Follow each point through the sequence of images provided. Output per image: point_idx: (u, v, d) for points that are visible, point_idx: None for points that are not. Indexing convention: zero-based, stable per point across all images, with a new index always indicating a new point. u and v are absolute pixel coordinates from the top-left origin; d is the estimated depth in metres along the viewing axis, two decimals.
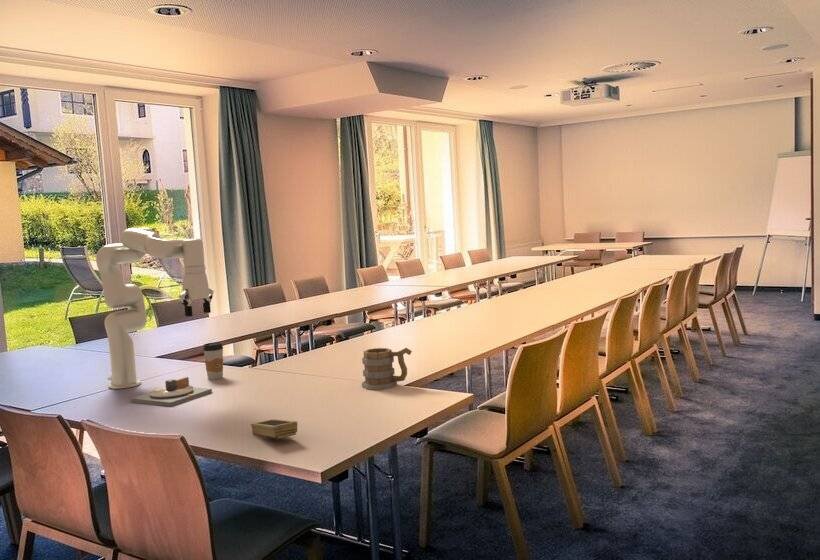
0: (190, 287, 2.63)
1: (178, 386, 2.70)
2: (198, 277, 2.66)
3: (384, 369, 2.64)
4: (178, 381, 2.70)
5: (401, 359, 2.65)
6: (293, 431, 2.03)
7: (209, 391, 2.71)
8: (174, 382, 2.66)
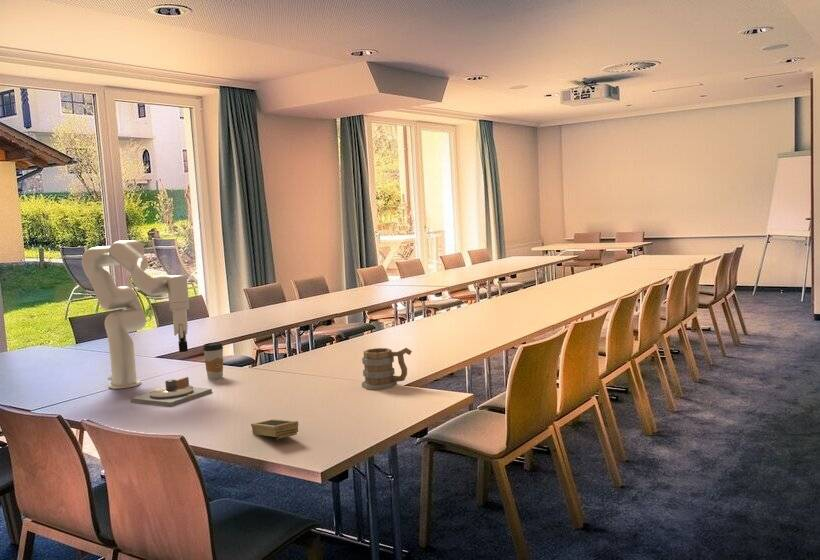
0: (185, 322, 2.72)
1: (178, 386, 2.70)
2: (186, 312, 2.76)
3: (384, 369, 2.64)
4: (178, 381, 2.70)
5: (401, 359, 2.65)
6: (294, 431, 2.03)
7: (209, 391, 2.71)
8: (174, 382, 2.66)
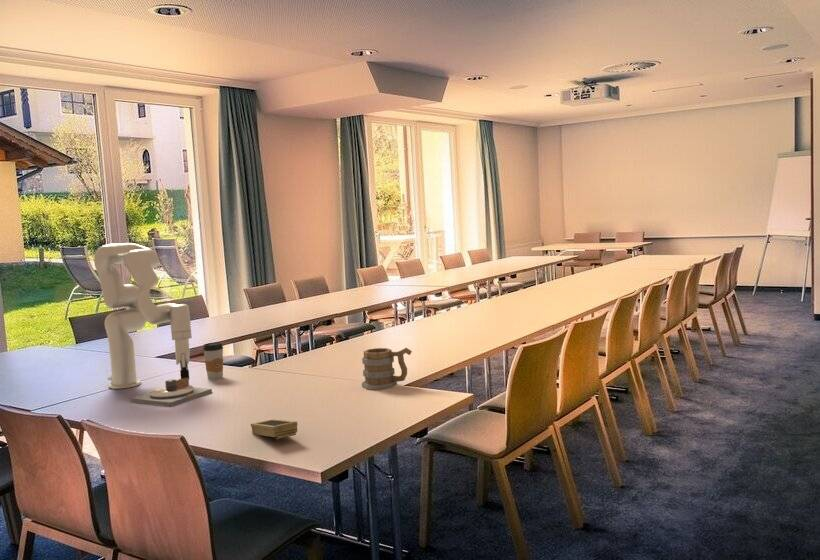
0: (187, 351, 2.73)
1: (178, 386, 2.70)
2: (188, 340, 2.77)
3: (384, 369, 2.64)
4: (178, 381, 2.70)
5: (401, 359, 2.65)
6: (293, 431, 2.03)
7: (209, 391, 2.71)
8: (174, 382, 2.66)
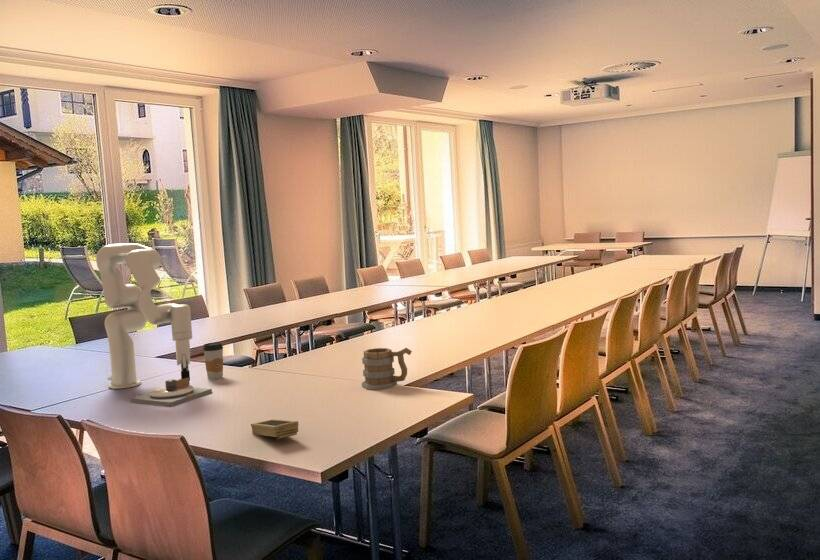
0: (188, 352, 2.71)
1: (178, 386, 2.70)
2: None
3: (384, 369, 2.64)
4: (178, 381, 2.70)
5: (401, 359, 2.65)
6: (294, 431, 2.03)
7: (209, 391, 2.71)
8: (174, 382, 2.66)
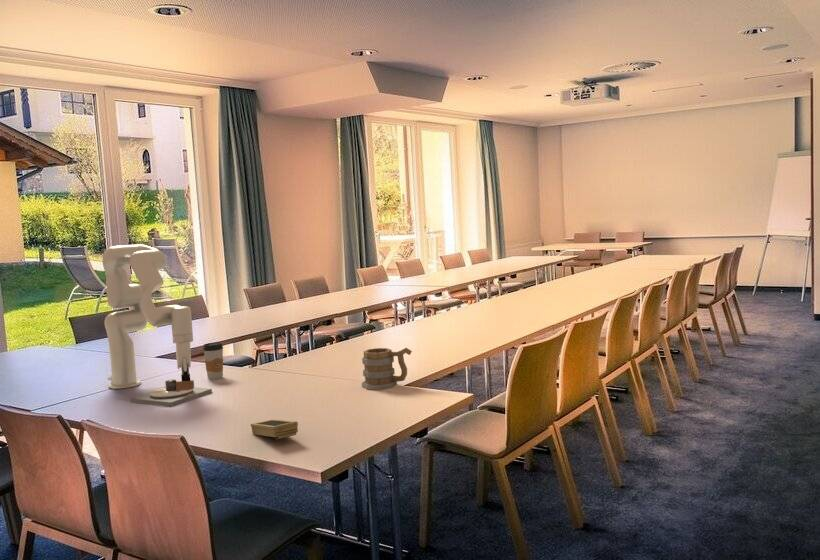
0: (189, 355, 2.65)
1: (179, 388, 2.67)
2: None
3: (384, 369, 2.64)
4: (179, 383, 2.67)
5: (401, 359, 2.65)
6: (293, 431, 2.03)
7: (209, 391, 2.71)
8: (169, 383, 2.65)
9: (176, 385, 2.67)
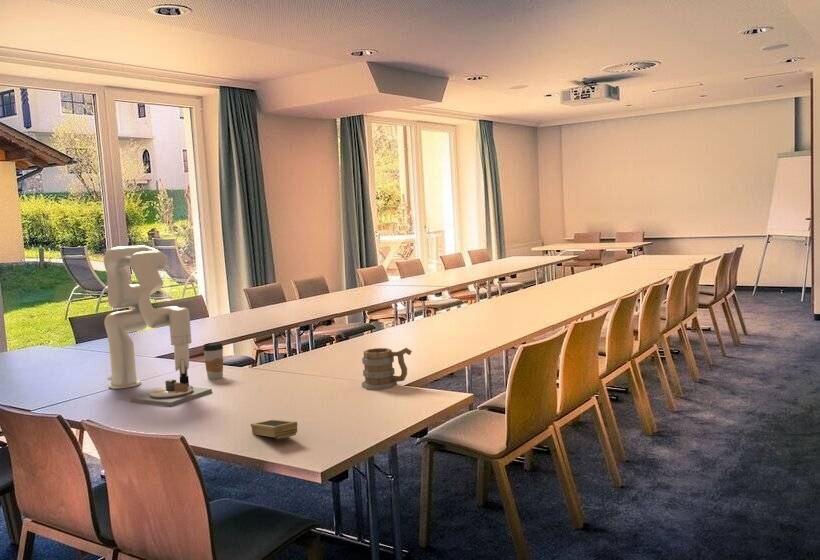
0: (187, 357, 2.62)
1: (175, 389, 2.65)
2: (188, 346, 2.66)
3: (384, 369, 2.64)
4: (175, 384, 2.65)
5: (401, 359, 2.65)
6: (293, 431, 2.03)
7: (209, 391, 2.71)
8: (166, 383, 2.65)
9: (173, 386, 2.65)
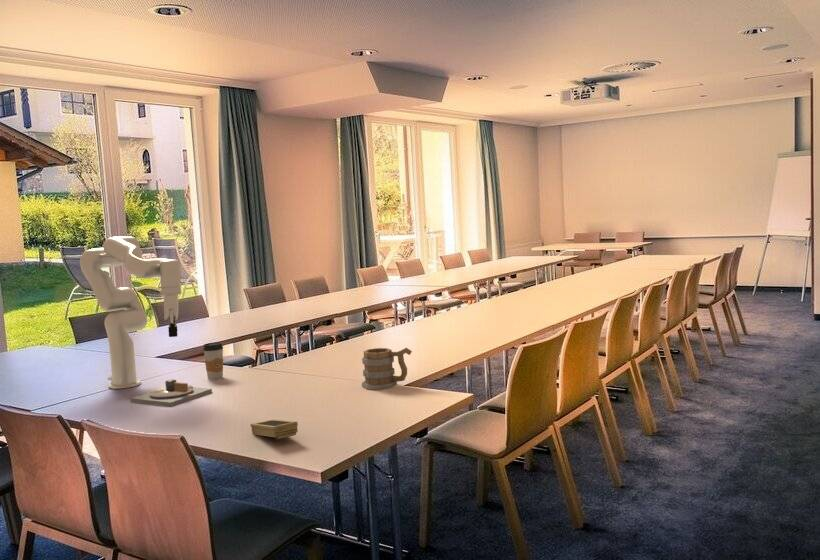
0: (176, 307, 2.70)
1: (175, 389, 2.65)
2: None
3: (384, 369, 2.64)
4: (175, 384, 2.65)
5: (401, 359, 2.65)
6: (293, 431, 2.02)
7: (209, 391, 2.71)
8: (166, 383, 2.65)
9: (173, 386, 2.65)
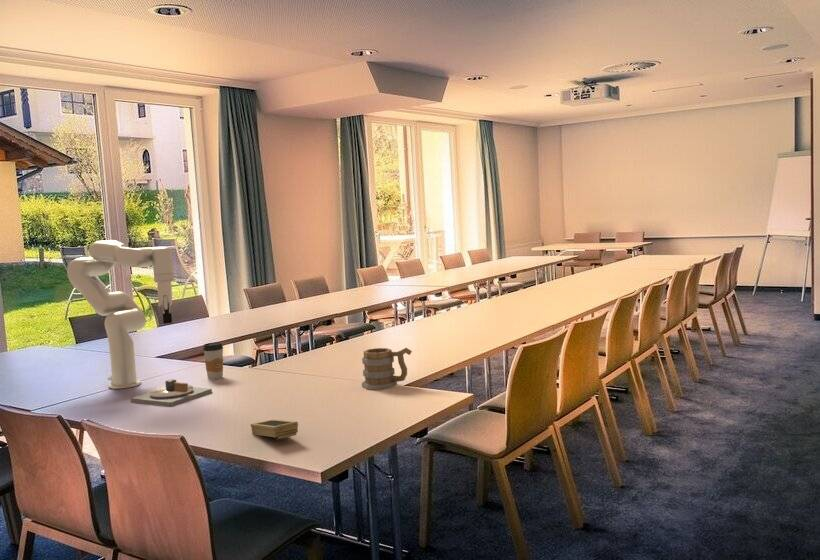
0: (169, 293, 2.75)
1: (175, 389, 2.65)
2: None
3: (384, 369, 2.64)
4: (175, 384, 2.65)
5: (401, 359, 2.65)
6: (293, 431, 2.02)
7: (209, 391, 2.71)
8: (166, 383, 2.65)
9: (173, 386, 2.65)
